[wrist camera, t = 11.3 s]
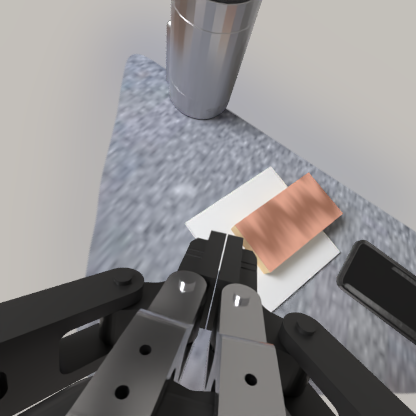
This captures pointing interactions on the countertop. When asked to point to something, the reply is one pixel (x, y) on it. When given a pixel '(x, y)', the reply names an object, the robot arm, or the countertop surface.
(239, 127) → the countertop surface
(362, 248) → the phone
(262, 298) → the white square pad
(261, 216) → the brown flat rectangular block
